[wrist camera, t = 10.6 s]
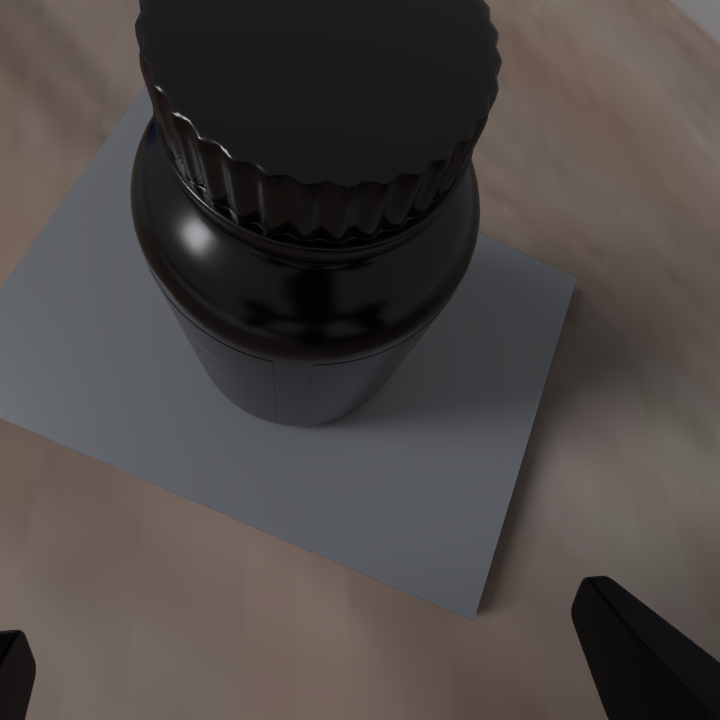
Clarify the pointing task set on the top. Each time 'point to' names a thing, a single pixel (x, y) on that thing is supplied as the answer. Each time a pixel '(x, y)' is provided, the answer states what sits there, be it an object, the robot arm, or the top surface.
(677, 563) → the top surface
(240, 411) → the board
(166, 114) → the supplement bottle
